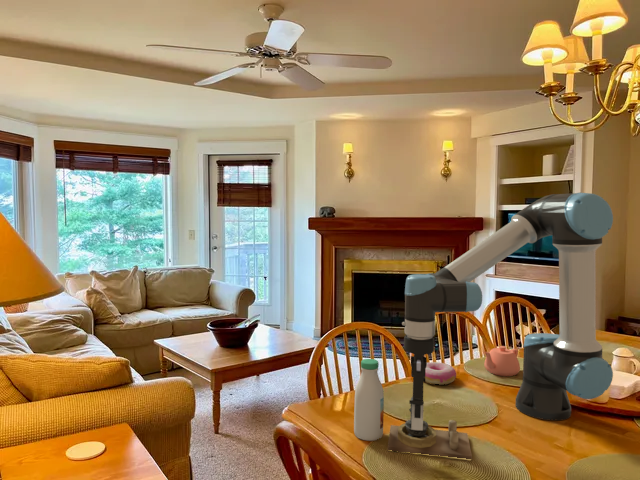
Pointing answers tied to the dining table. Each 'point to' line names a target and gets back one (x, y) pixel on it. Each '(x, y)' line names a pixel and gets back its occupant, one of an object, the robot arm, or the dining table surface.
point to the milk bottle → (369, 403)
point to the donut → (439, 373)
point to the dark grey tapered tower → (416, 432)
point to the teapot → (502, 361)
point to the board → (436, 447)
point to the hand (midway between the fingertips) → (417, 417)
